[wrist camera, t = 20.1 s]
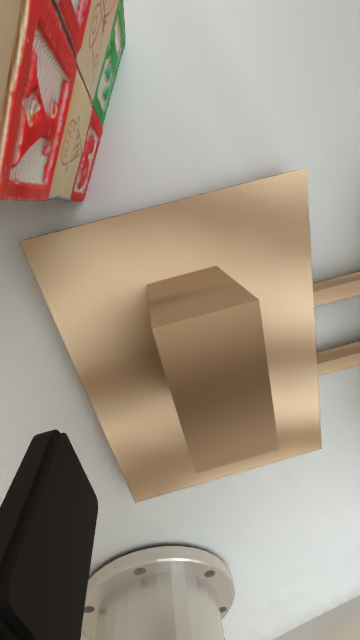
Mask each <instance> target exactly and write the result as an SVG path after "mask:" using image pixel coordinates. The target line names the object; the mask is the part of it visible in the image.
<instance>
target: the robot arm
mask: <svg viewBox="0 0 360 640" xmlns="http://www.w3.org/2000/svg"><path fill="white" fill-rule="evenodd" d="M97 513H98V501H97V497H96V495H95V493H94V491H93V488H92V486H91V484H90V482H89V480H88V478H87V476H86V474H85V472H84V470H83V468H82V466H81V463H80V461H79V459H78V457H77V455H76V453H75V451H74V449H73V447H72V445H71V443H70V441H69V438H68V436H67V435H66V434H65V433H60V432H59V431H58V430H52V431H48V432H45V433H41V434H37V435H35V436H34V437H33V439H32V441H31V443H30V445H29V447H28V450H27V452H26V454H25V456H24V458H23V460H22V462H21V464H20V467H19V469H18V471H17V473H16V475H15V477H14V479H13V481H12V484H11V486H10V488H9V490H8V492H7V494H6V496H5V498H4V501H3V503H2V505H1V507H0V640H80V637H81V630H82V631H83V632H84V634H85V635H86V636H87V637H88V638H90V639H91V640H225V637H224V632H223V627H222V622H221V620H222V619H223V617H224V616H225V615H226V614H227V612H228V611H229V609H230V607H231V605H232V603H233V600H234V595H235V591H234V584H233V581H232V577H231V573H230V570H229V569H228V567H227V566H226V564H225V563H224V562H223V561H222V560H220V559H219V558H218V557H217V556H215V555H213V554H211V553H209V552H207V551H204V550H201V549H197V548H194V547H186V546H160V547H153V548H147V549H143V550H139V551H135V552H132V553H129V554H127V555H124V556H122V557H119V558H117V559H115V560H114V561H112V562H110V563H108V564H106V565H105V566H104V567H102V568H101V569H100V570H99V571H97V572H96V573H95V574H94V575H93V576H92V577H91V578H90V579H89V580H88V578H89V571H90V564H91V557H92V549H93V542H94V535H95V527H96V520H97Z"/></svg>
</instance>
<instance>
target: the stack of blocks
mask: <svg viewBox="0 0 360 640" xmlns="http://www.w3.org/2000/svg"><path fill="white" fill-rule="evenodd" d="M124 46H125V21H124V8H123V0H0V200H14V201H39V200H42V201H45V200H47V199H57V198H59V199H64V200H68V201H83V200H84V198H85V195H86V191H87V187H88V183H89V180H90V176H91V172H92V169H93V165H94V161H95V157H96V153H97V150H98V146H99V142H100V138H101V135H102V129H103V122H104V118H105V115H106V111H107V107H108V104H109V100H110V96H111V93H112V89H113V86H114V82H115V78H116V75H117V71H118V67H119V63H120V59H121V56H122V53H123V49H124Z"/></svg>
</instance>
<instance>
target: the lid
mask: <svg viewBox="0 0 360 640" xmlns="http://www.w3.org/2000/svg"><path fill="white" fill-rule="evenodd" d="M20 244H21V247H22V249H23V251H24V253H25V256H26V258H27V260H28V262H29V265H30V267H31V269H32V271H33V274H34V276H35V278H36V280H37V283H38V285H39V287H40V289H41V292H42V294H43V296H44V298H45V301H46V303H47V305H48V307H49V310H50V312H51V314H52V316H53V319H54V321H55V323H56V325H57V328H58V330H59V332H60V334H61V337H62V339H63V341H64V343H65V346H66V348H67V350H68V352H69V355H70V357H71V359H72V361H73V364H74V366H75V368H76V370H77V373H78V375H79V377H80V379H81V382H82V384H83V386H84V388H85V391H86V393H87V395H88V397H89V400H90V402H91V404H92V406H93V409H94V411H95V413H96V415H97V418H98V420H99V422H100V424H101V427H102V429H103V431H104V433H105V436H106V438H107V440H108V442H109V445H110V447H111V449H112V451H113V454H114V456H115V458H116V460H117V463H118V465H119V467H120V469H121V472H122V474H123V476H124V478H125V481H126V483H127V485H128V488H129V490H130V492H131V494H132V497H133V499H134V501H135V503H136V502H139V501H143V500H146V499H150V498H153V497H157V496H160V495H163V494H167V493H170V492H174V491H177V490H181V489H184V488H188V487H191V486H194V485H198V484H201V483H205V482H208V481H212V480H215V479H219V478H222V477H225V476H229V475H232V474H236V473H239V472H243V471H246V470H250V469H253V468H256V467H260V466H263V465H267V464H270V463H274V462H277V461H281V460H284V459H288V458H291V457H294V456H298V455H301V454H305V453H308V452H312V451H315V450H319V449H322V446H321V428H320V409H319V391H318V376H322V375H325V374H329V373H332V372H336V371H339V370H343V369H347V368H350V367H354V366H357V365H360V341H358V342H354V343H351V344H347V345H344V346H340V347H336V348H333V349H329V350H326V351H322V352H318V353H316V337H315V318H314V307H317V306H321V305H324V304H328V303H332V302H335V301H339V300H342V299H346V298H350V297H353V296H357V295H360V271H359V272H355V273H352V274H348V275H344V276H341V277H337V278H333V279H330V280H326V281H322V282H318V283H315V284H313V282H312V264H311V245H310V227H309V209H308V191H307V173H306V168H303V169H299V170H294V171H290V172H286V173H282V174H278V175H274V176H271V177H267V178H263V179H259V180H255V181H251V182H247V183H243V184H239V185H236V186H232V187H228V188H224V189H220V190H216V191H212V192H208V193H204V194H200V195H197V196H193V197H189V198H185V199H181V200H177V201H173V202H169V203H165V204H162V205H158V206H154V207H150V208H146V209H142V210H138V211H134V212H130V213H127V214H123V215H119V216H115V217H111V218H107V219H103V220H99V221H95V222H92V223H88V224H84V225H80V226H76V227H72V228H68V229H64V230H60V231H56V232H53V233H49V234H45V235H41V236H37V237H33V238H29V239H26V240H23V241H20Z"/></svg>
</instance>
